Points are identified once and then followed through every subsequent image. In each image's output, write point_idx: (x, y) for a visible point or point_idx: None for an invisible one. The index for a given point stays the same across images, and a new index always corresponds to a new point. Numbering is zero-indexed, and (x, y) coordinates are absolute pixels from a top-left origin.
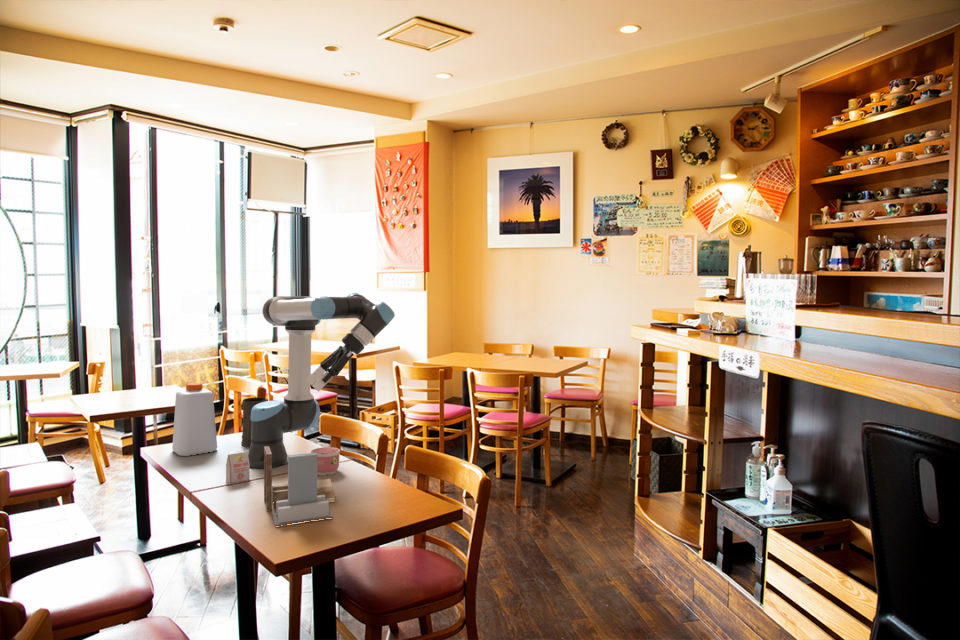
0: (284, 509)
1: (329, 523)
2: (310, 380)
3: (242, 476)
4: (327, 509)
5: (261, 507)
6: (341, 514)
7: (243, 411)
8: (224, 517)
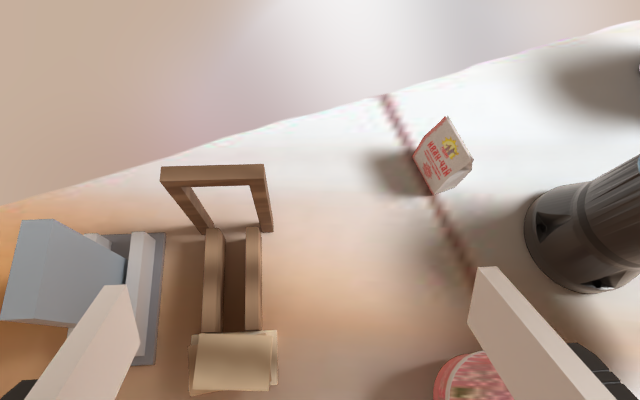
0: None
1: (53, 357)
2: (482, 306)
3: (429, 175)
4: None
5: (233, 214)
6: None
7: None
8: (205, 147)
